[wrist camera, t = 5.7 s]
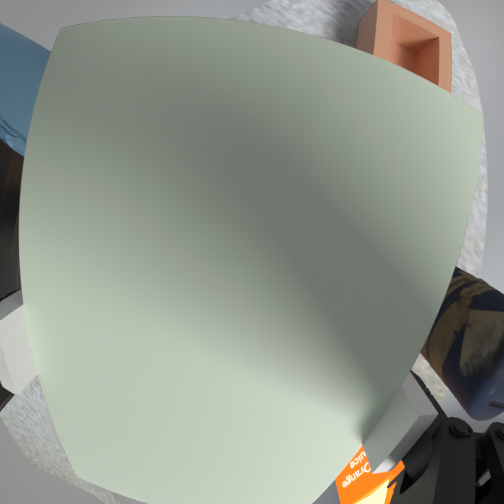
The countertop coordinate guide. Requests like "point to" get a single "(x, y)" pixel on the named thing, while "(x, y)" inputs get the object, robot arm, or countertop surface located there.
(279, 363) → the board
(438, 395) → the countertop surface
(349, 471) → the orange juice
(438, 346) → the canister
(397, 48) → the dish
